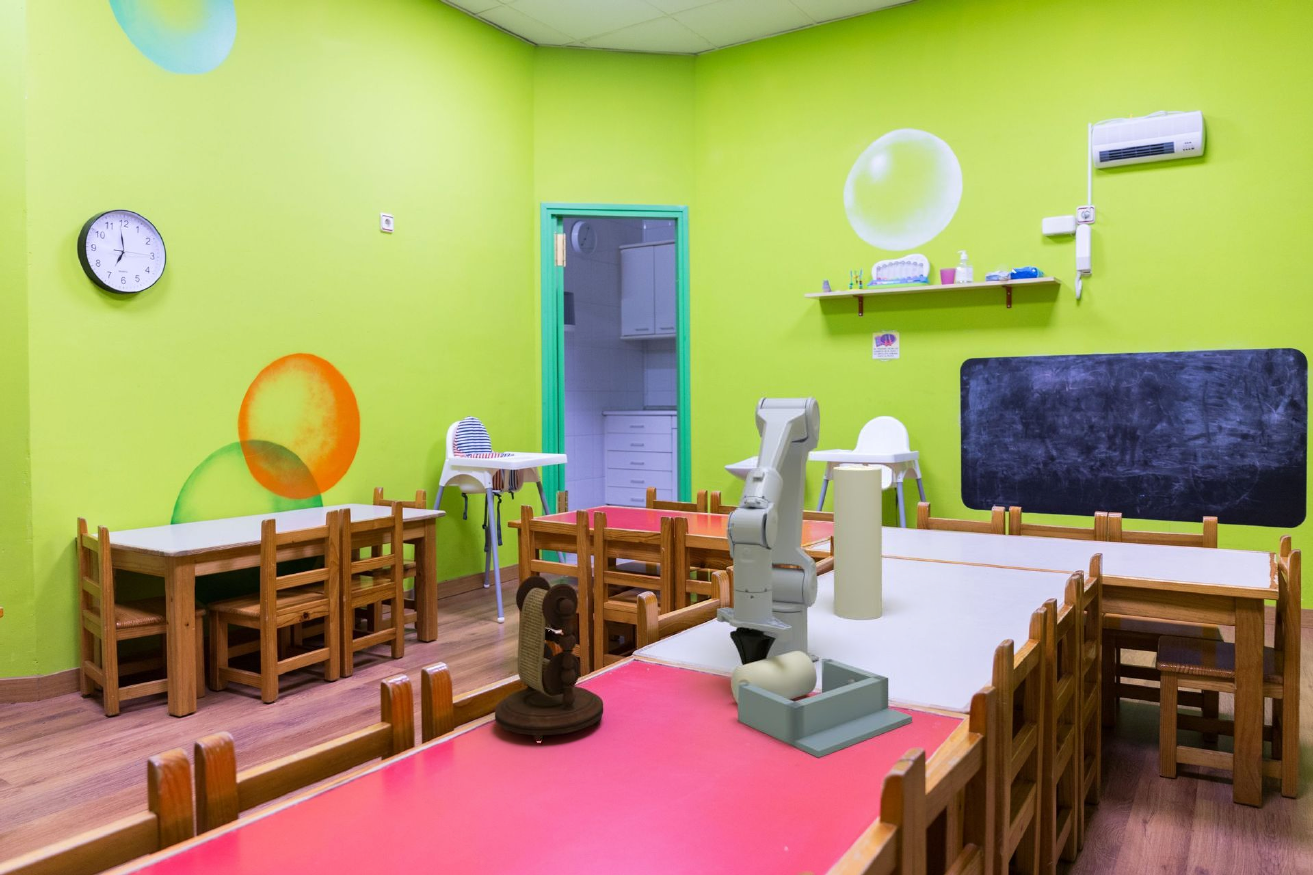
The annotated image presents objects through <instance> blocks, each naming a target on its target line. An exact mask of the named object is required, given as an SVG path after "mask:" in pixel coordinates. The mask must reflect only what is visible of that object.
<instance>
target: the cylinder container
mask: <svg viewBox="0 0 1313 875" xmlns="http://www.w3.org/2000/svg"><path fill="white" fill-rule="evenodd" d="M832 469H833V470H832V472H833V473H832V474H833V475H832V480H833V486H832V487H833V488H832V489H833V613H834V615H835V616H837V617H840V618H843V619H847V620H861V621H864V620H875V619H878V618H881V617H882V615H883V579H882V578H883V561H882V560H883V550H882V549H883V545H882V544H883V543H882V542H883V540H882V539H883V536H882V533H883V525H882V524H883V523H882V522H883V521H882V519H883V518H882V515H883V514H882V512H883V511H882V509H883V508H882V507H883V505H882V503H883V502H882V499H883V498H882V497H883V496H882V493H883V492H882V486H883V485H882V484H883V483H882V480H883V479H882V477H883V476H882V467H880V466H879V467H878V466H871V465H870V466H869V465H861V464H853V465H846V466H845V465H843V466H834V467H833V468H832Z"/></svg>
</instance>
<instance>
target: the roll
mask: <svg viewBox="0 0 1313 875" xmlns="http://www.w3.org/2000/svg"><path fill="white" fill-rule="evenodd" d="M813 662H814V661H811V659H810V658H809V657H808V656H807V655H806V654H805V653H803V652H801V651H793V652H790V653H786V654H782V655H779V656H775V657H771V658H767V659H764V660H760V661H756V662H753V663H749V664H745V665H742V664H741V665H738V666H737V667H735V668H734V669H733V671H732V674H731V676H730V677H731V678H730V680H731V681H730V686H731V692H732V695H733V698H734V699H735V702H736V703H737V704H738V683H741V682H746V683H749V684H751V685H754V686H756V687H759V688H761V689H764V690H766V691H769V692H772V693H774V694H777V695H779V696H782V697H784V698H787V699H789V700H793V699H797V698H799V697H803V696H806V695H809V694H811V693H812V692H813V691H814V690H815V688H816V686H817V681H818V679H817V678H818V677H817V670H816V667H815V665H814V663H813Z"/></svg>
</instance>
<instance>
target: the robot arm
mask: <svg viewBox="0 0 1313 875" xmlns="http://www.w3.org/2000/svg"><path fill="white" fill-rule="evenodd" d="M754 418H755V419H754V420H755V426H756V428H757V430H758V434H759V437H760V438H761V439H760V440H761V441H760V445H759V451H758V458H757V463H756V467H754V468H752V469H751V470H750V471H748V473H747V474H746V478H745V482H744V484H743V490H742V491H741V492H742V493H741V494H740V495H741V496H740V499H739V502H738V505H737V507H736V509H735V510H732V511H730V513H729V515H728V517H727V522H726V523H727V524H726V538H727V542H728V545H729V555H730V558H732V559H733V562H732V564H733V565H732V568H733V571H732V572H733V575H732V577H733V580H732V581H733V608H732V607H727V606H726V607H720V608H717V609H716V621H717V622H719V623H724V622H725V623H727V624H729V626H731V627H734V628H735V630H733V631H730V633H729V638H731V640H732V642H733V644H734V646H735V647H736V650H737V653H738V655H739V658H740V662H741V666H742V665H745V664H749V663H753V662H756V661H760V660H764V659H767V658H771V657H775V656H779V655H782V654H786V653H790V652H793V651H801V652H803V653H805V654H806V655H807V656H808V657H809V658H810V659H811V661H812V662H814V661H818V660H819V659H820V657H819V655H816V654H812V653H810V652H809V650H808V645H809V644H808V641H809V640H808V608H810V607H812V606H813V605H814V604H815V602H816V601H817V596H818V587H819V586H818V576H817V574H818V573H817V563H816V561H815V559H813V557H811V556H810V555H809V554H808V553H807V552H806V551H804V549H802V536H803V535H802V534H803V521H804V520H803V519H804V502H805V490H806V489H805V488H806V487H805V486H806V473H807V472H806V470H807V462H808V458H809V452H812V451H813V450H815V449H817V448H818V445H819V440H820V425H821V412H820V406H819V402H818V400H817V399H816V398H815V397H814V396H809V397H785V398H784V397H782V398H779V397H778V398H777V397H775V398H771V397H761V398H760V399H759V400H758V402H757V403H756V407H755V417H754ZM778 565H779V566H778ZM780 566H791V567H780ZM793 567H794V568H793ZM795 567H797V568H795ZM798 567H801V568H798Z"/></svg>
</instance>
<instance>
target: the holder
mask: <svg viewBox="0 0 1313 875" xmlns="http://www.w3.org/2000/svg"><path fill="white" fill-rule="evenodd" d="M737 721H738V722H739V723H741V724H744V725H747V726H748V727H751V728H752V729H755V730H757V731H759V732H762V733H764V734H766V735H768V736H771V737H773V738H775V739H777V740H779V741H781V742H783V743H786V744H788V745H790V746H792V747H794V748H796V749H799V750H801V751H803V752H805V753H807V754H809V755H812V756H814V757H816V758H822V757H824V756H827V755H829V754H832V753H834V752H837V751H841V750H843V749H846V748H848V747H850V746H854V745H855V744H858V743H861V742H863V741H866V740H869V739H872V738H875V737H877V736H879V735H882V734H884V733H887V732H888V733H889V732H891V731H892V730H895V729H899V728H901V727H903V726H906V725H908V724H910V723H913V716H912V715H910V714H907V713H905V712H902V711H899V710H896V709H893V708H890V707H889V677H886V676H884V675H880V674H877V673H875V672H871V671H868V670H865V669H862V668H860V667H859V668H858V667H856V666H853V665H849V664H846V663H843V662H840V661H837V660H834V659H832V658H823V659H821V693H818V694H815V695H812V696H808V697H806V698H801V699H799V700H796V701H794V700H793V699H791V700H789V699H787V698H784V697H782V696H779V695H777V694H774V693H772V692H769V691H766V690H764V689H761V688H759V687H756V686H754V685H751V684H749V683H746V682H741V683H738V703H737Z"/></svg>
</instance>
